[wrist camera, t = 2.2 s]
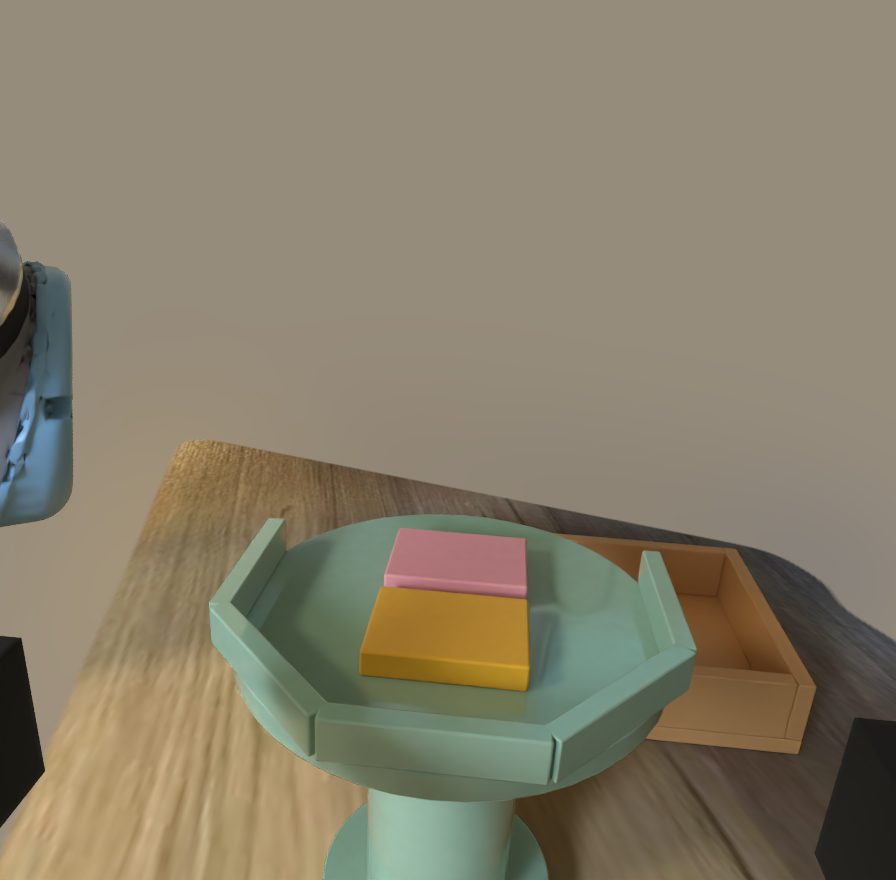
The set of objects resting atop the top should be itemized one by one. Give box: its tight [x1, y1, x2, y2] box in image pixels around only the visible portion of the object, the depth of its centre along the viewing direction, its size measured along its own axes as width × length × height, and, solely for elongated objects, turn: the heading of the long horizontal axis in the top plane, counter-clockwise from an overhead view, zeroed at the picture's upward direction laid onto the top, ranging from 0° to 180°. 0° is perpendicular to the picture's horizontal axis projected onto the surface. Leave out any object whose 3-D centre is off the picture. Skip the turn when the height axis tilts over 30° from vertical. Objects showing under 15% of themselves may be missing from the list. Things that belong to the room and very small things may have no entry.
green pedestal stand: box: [209, 514, 697, 880], centre depth 24 cm, size 13×13×13 cm
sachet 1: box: [384, 528, 528, 600], centre depth 24 cm, size 4×3×1 cm
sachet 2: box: [359, 586, 531, 692], centre depth 20 cm, size 4×3×1 cm
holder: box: [553, 533, 816, 754], centre depth 39 cm, size 20×13×4 cm, turn 85°
